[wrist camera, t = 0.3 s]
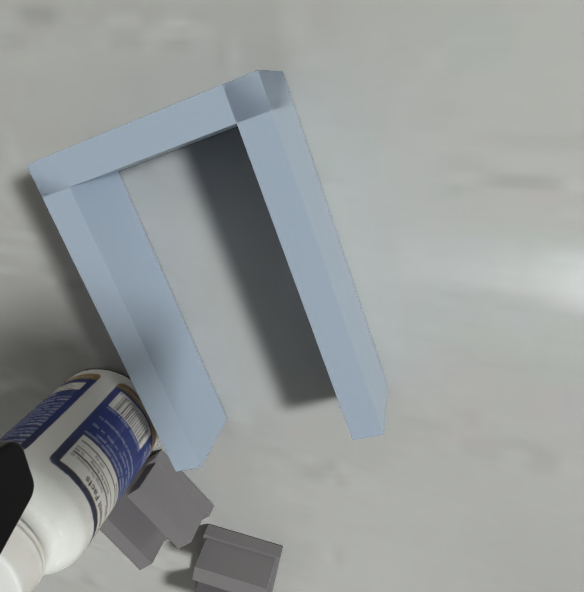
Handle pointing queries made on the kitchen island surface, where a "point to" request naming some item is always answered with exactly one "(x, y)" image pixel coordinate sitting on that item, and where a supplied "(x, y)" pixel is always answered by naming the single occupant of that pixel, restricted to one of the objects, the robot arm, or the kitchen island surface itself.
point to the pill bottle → (74, 471)
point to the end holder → (151, 281)
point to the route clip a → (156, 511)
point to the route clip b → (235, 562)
